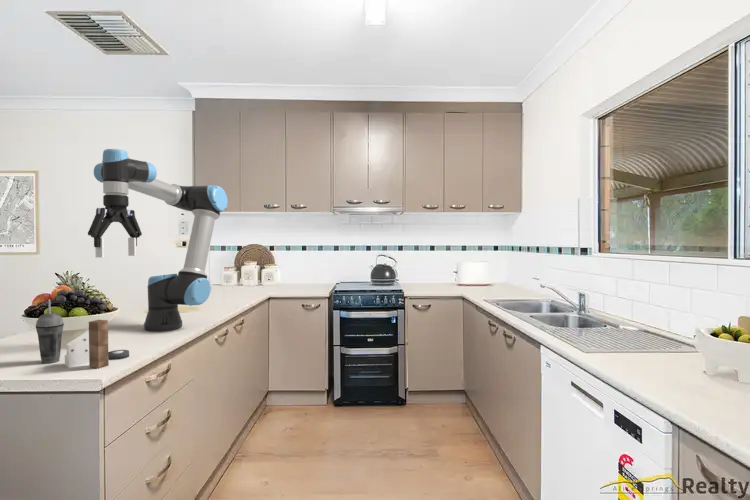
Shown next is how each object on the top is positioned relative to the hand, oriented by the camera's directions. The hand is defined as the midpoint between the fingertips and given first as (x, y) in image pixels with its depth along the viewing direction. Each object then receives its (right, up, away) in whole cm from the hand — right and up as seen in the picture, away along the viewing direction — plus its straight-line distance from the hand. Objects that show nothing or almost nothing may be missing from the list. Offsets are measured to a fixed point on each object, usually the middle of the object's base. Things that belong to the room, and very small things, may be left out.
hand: (116, 256), depth 151 cm
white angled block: (-3, -34, -15) cm, 37 cm away
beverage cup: (-13, -33, -13) cm, 38 cm away
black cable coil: (+5, -33, -8) cm, 34 cm away
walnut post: (+5, -33, -18) cm, 38 cm away
